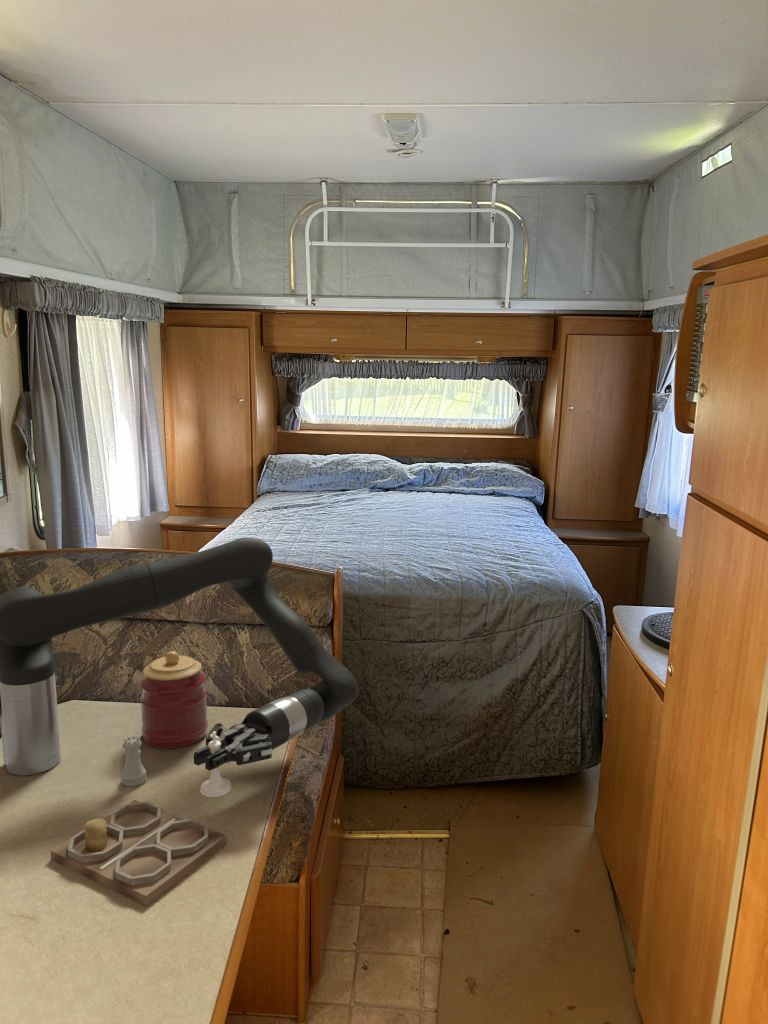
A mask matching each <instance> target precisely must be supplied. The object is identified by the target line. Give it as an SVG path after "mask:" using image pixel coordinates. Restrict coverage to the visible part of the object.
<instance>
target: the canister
mask: <svg viewBox="0 0 768 1024" xmlns="http://www.w3.org/2000/svg"><path fill="white" fill-rule="evenodd" d="M166 653H167V654H166V655H165V656H162V657H160V658H157V659H155V660H153V661H152V662H151V663H150V664H148V665H146V666H145V667H144V668H143V670H142V673H143V677H141V678H140V680H139V687H140V689H141V690H142V694H141V695H140V698H139V700H140V704H141V706H140V707H141V727H140V728H141V736H142V739H143V741H144V743H146V744H147V745H149V746H150V747H154V748H159V749H176V748H184V747H187V746H189V745H192V744H195V743H197V742H199V741H200V740H202V739H203V738H204V737H205V736H207V734H208V727H209V719H208V713H207V712H208V711H207V695H208V691H207V689H206V688H205V682H206V680H207V674H206V673H205V672H204V671H202V668H203V667H202V666H203V665H202V663H201V662H200V661H198V660H196V659H194V658H193V657H190V656H186V655H179V653H178V652H177V651H174V650H172V651H168V652H166Z"/></svg>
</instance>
